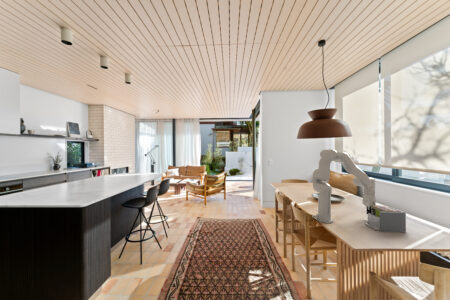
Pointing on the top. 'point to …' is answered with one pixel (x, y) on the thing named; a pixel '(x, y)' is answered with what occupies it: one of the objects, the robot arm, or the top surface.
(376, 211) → the tea box
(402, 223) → the shelf wall
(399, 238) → the top surface
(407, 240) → the top surface
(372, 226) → the bookend
